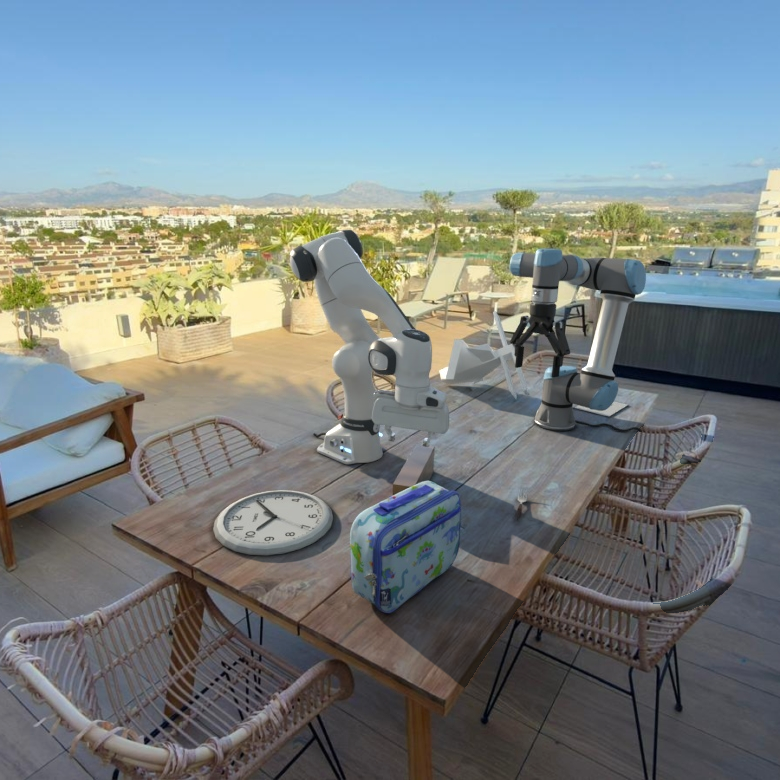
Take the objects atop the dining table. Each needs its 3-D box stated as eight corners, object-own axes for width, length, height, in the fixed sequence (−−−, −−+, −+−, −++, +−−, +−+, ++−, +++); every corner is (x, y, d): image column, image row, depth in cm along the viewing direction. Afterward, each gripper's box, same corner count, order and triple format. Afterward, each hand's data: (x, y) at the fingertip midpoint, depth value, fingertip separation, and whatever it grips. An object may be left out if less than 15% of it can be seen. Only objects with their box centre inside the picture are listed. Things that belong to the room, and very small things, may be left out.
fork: (511, 521, 136) (512, 514, 136) (519, 493, 150) (519, 487, 150) (521, 523, 135) (522, 516, 135) (528, 495, 150) (528, 489, 149)
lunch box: (379, 627, 99) (381, 531, 93) (343, 599, 107) (342, 508, 100) (464, 568, 117) (470, 484, 111) (428, 548, 124) (431, 467, 118)
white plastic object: (461, 429, 252) (437, 405, 227) (444, 352, 274) (420, 323, 250) (535, 404, 240) (518, 377, 215) (510, 326, 262) (492, 293, 237)
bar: (415, 468, 165) (416, 444, 163) (433, 471, 164) (434, 446, 161) (392, 512, 140) (392, 484, 137) (413, 515, 138) (414, 487, 136)
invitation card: (608, 416, 214) (573, 407, 224) (608, 416, 214) (573, 408, 224) (628, 404, 229) (594, 396, 238) (628, 405, 229) (594, 397, 238)
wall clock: (331, 546, 121) (198, 551, 119) (331, 552, 122) (199, 557, 119) (333, 485, 150) (227, 488, 147) (334, 490, 150) (227, 493, 148)
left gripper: (369, 392, 133) (367, 441, 138) (448, 402, 129) (444, 453, 133) (376, 385, 139) (374, 433, 143) (452, 395, 134) (448, 444, 139)
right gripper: (502, 298, 162) (497, 365, 168) (573, 309, 143) (564, 383, 150) (517, 297, 166) (512, 361, 173) (588, 306, 148) (579, 379, 154)
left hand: (408, 443), depth 138 cm, fingers open, 8 cm apart
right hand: (536, 371), depth 161 cm, fingers open, 13 cm apart
